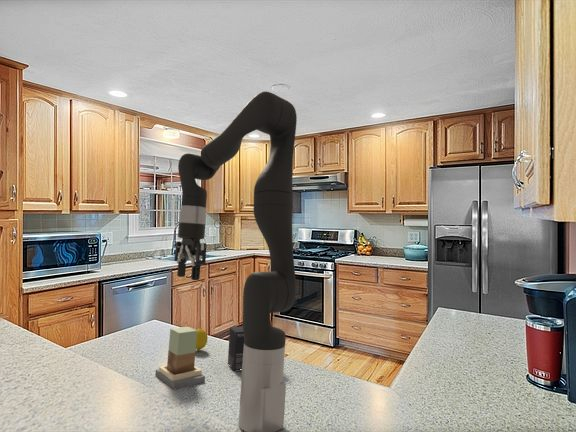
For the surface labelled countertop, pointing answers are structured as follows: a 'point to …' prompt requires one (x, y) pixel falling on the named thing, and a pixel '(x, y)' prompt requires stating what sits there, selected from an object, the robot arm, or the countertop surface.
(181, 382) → the base board
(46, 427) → the countertop surface
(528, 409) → the countertop surface
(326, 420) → the countertop surface
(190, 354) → the walnut block
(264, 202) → the robot arm
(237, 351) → the small box
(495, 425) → the countertop surface
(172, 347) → the sage block
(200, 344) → the lemon
